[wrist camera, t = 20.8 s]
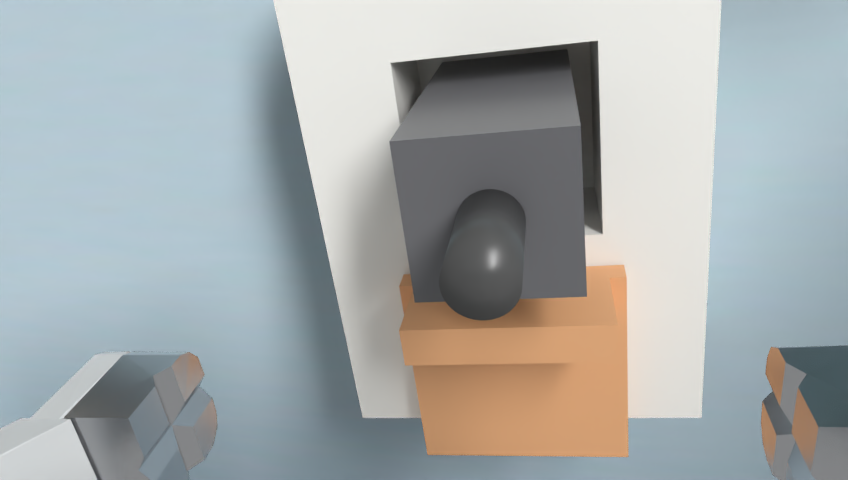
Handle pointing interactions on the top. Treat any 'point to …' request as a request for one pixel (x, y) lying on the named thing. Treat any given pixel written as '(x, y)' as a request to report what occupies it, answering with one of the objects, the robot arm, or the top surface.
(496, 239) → the plug
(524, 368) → the shutter
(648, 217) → the socket
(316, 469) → the top surface
